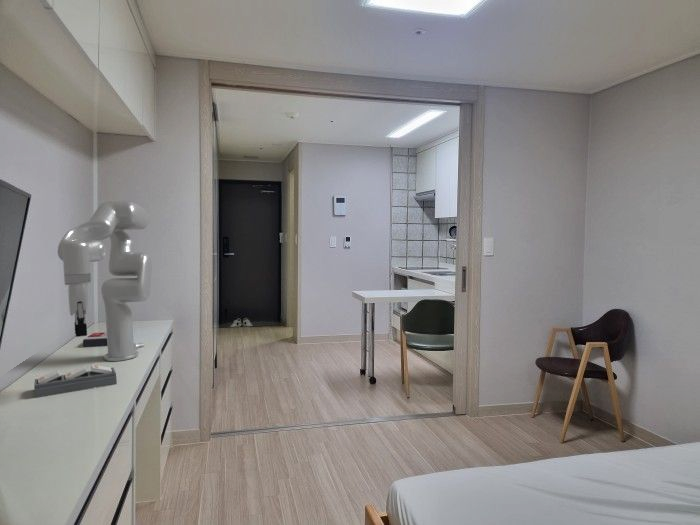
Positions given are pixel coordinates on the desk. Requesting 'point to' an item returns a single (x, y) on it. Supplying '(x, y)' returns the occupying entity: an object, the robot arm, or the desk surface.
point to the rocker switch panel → (74, 383)
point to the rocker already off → (101, 369)
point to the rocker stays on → (49, 377)
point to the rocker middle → (75, 373)
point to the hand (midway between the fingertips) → (81, 334)
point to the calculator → (96, 340)
